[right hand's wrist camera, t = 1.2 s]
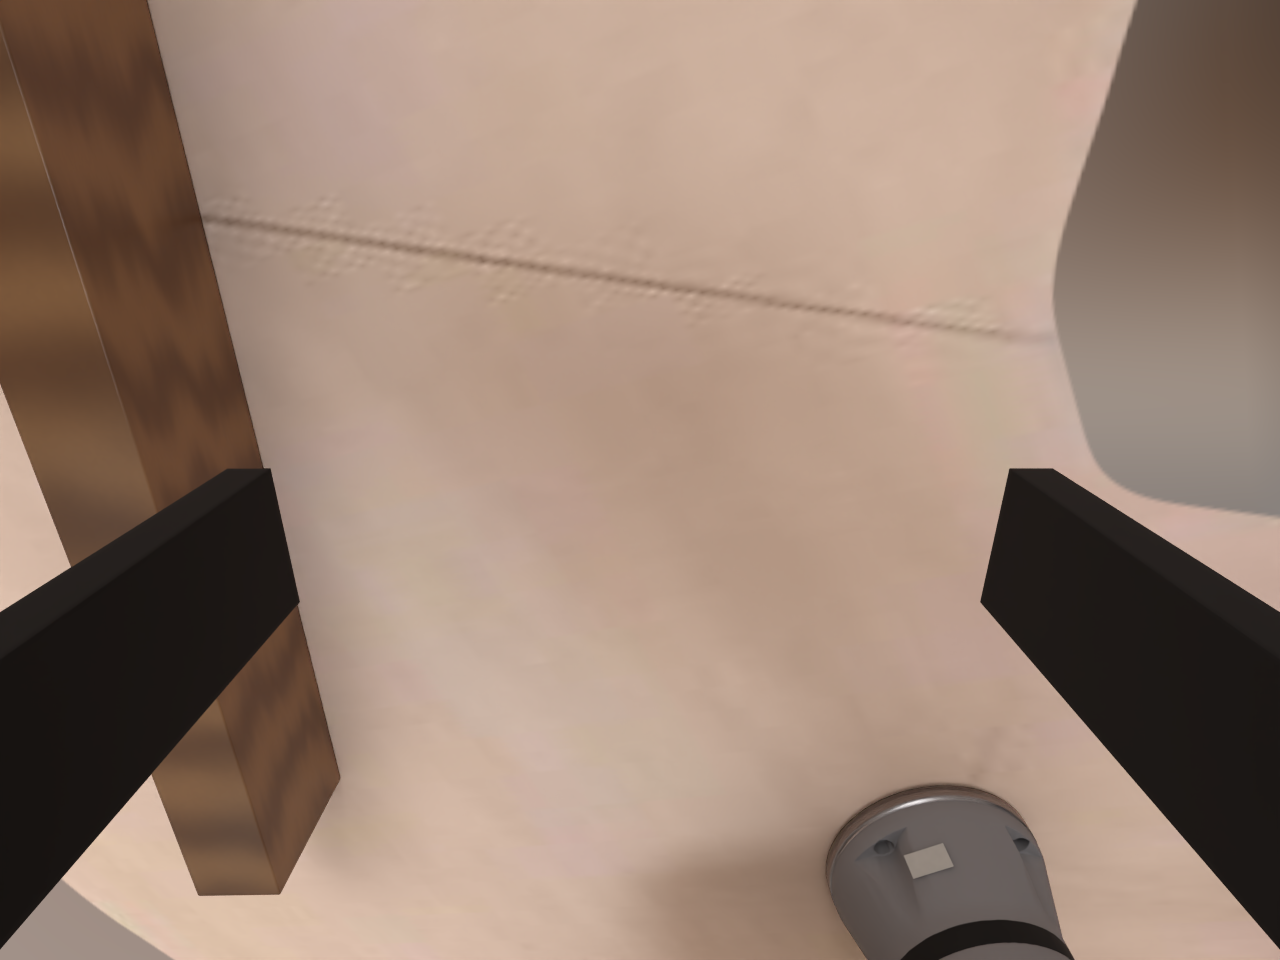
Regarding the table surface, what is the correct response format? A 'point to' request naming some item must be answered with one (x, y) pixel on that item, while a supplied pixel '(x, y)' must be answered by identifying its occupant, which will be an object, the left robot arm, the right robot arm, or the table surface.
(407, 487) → the table surface
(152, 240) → the post
